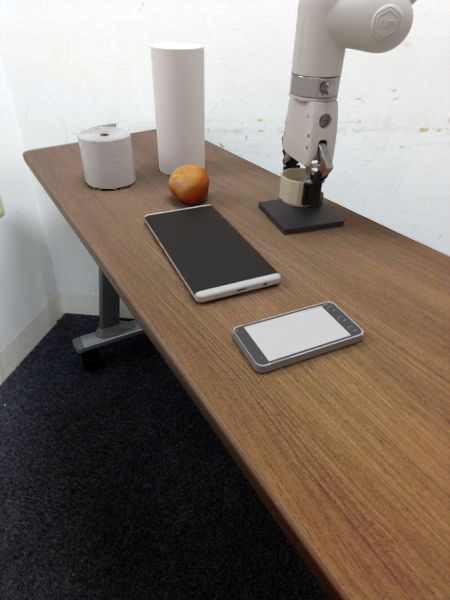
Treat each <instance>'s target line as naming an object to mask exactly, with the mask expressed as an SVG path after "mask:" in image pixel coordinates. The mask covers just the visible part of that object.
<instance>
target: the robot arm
mask: <svg viewBox="0 0 450 600" xmlns="http://www.w3.org/2000/svg"><path fill="white" fill-rule="evenodd" d="M417 1H418V0H298V3H297V4H298V6H297V15H296V21H295V23H296V24H295V33H294V40H293V41H294V43H293V52H292V61H291V70H290V79H289V88H288V97H289V100H288V104H287V110H286V115H285V120H284V121H285V122H284V129H283V135H282V136H281V143H282V156H283V158H282V165H283V166H282V167H283V168H282V171H283V170H286V169H289V168H301V165H302V166H304V168H305V170H306V179H307V182H305V183H304V187H303V194H302V201H301V204H302V205H303V206H309V205H316V204H318V203H319V200H320V194H321V191H322V188H323V184H325V182H326V179H327V178H328V177H329V175H330V174H331V172H332V171H333V169H334V164H333V161H334V155H335V149H336V143H337V133H338V123H339V101H338V97H339V90H340V84H341V78H342V74H343V73H342V72H343V67H344V62H345V60H344V59H345V55H346V49H348V50H353V51H354V50H355V51H360V52H364V53H370V54H384V53H387V52H390V51H392V50H394V49H395V48H397V47H398V46H400V45H401V44H402V43H403V42H404V41H405V39H406V38H407V37H408V36H409V33H410V32H411V29H412V26H413V24H414V8H413V5H414V4H415V3H416V2H417ZM313 161H317V162H314V163H313ZM313 169H317V170H315V171H316V172H315V173H314V174H313V175H312V170H313Z"/></svg>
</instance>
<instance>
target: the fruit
mask: <svg viewBox="0 0 450 600" xmlns="http://www.w3.org/2000/svg"><path fill="white" fill-rule="evenodd" d="M209 188H210V180H209V174H208V172H207V170H206V168H205V169H203V168H202V167H201V166H199V165H195V164H187V165H185V166H181V167H179V168H177V169H176V170H175V171H174V172H173V173H172V174H171V175H169V179H168V189H169V191H170V192H171V194H172V196H173V197H174V198H175V199H176V200H178V201H179V202H181V203H184V204H186V205H189V206H196V205H199V204H201V203H203V202H204V201H205V200H208V195H209Z"/></svg>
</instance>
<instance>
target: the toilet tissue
mask: <svg viewBox="0 0 450 600" xmlns="http://www.w3.org/2000/svg"><path fill="white" fill-rule="evenodd" d="M76 137H77V143H78V148H79V153H80V157H81V158H80V159H81V164H82V171H83V175H84V181H85V184H86V183H88V184H89V185H91V186H94V187H99V188H119V187H124V186H127V185H130V184H132V183H133V182H134V181H135V182H136V180H135V179H137V177H136V170H135V161H134V160H135V159H134V152H133V151H134V150H133V142H132V139H133V138H132V133H131V131H130V130H129V129H126V128H123V127H117V123H116V122H115V123H109V124H102V125H98V126H97V125H96V126H93V127H90V128H86V129H83V130H81V131H79V132H77V136H76ZM135 182H134V183H135ZM134 183H133V184H134ZM133 184H132V185H133ZM130 186H131V185H130ZM127 187H128V186H127ZM124 188H125V187H124Z"/></svg>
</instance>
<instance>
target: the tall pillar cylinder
mask: <svg viewBox="0 0 450 600" xmlns="http://www.w3.org/2000/svg"><path fill="white" fill-rule="evenodd" d="M150 59H151V74H152V87H153V100H154V114H155V115H154V116H155V129H156V142H157V143H156V144H157V157H158V169H160V170H159V171H160V172H161V173H162V174H164V175H166V176H171V174H172V173H173V172H174V171H175V170H176V169H177V168H179V167H181V166H185V165H187V164H195V165H199V166H201V167H202V168H203V169H205V170H206V139H205V138H206V136H205V131H206V128H205V125H206V122H205V121H206V120H205V119H206V117H205V114H206V113H205V45H204V44H200V43H195V42H183V41H167V42H156V43H152V44H150Z"/></svg>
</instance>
